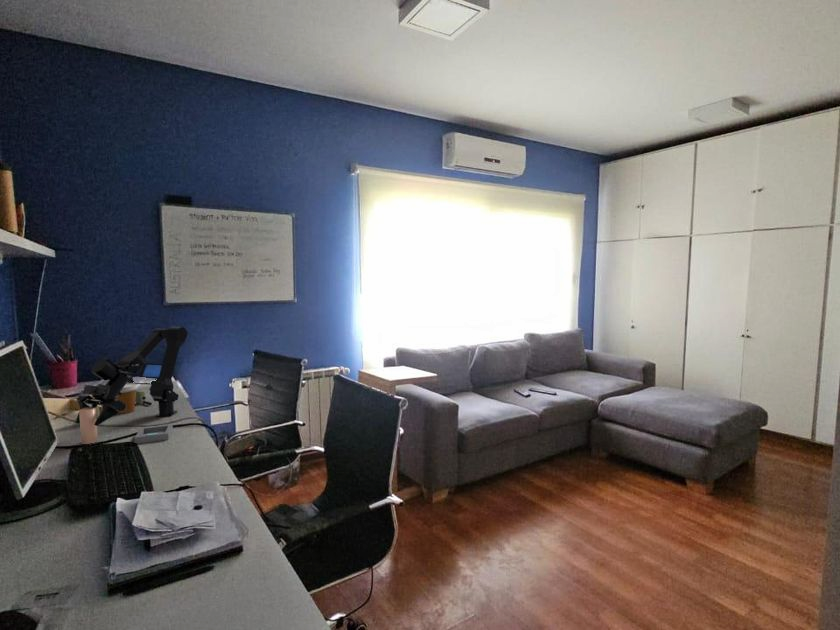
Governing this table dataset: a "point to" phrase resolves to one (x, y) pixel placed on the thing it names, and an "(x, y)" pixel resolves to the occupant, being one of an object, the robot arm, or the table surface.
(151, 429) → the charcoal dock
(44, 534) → the table surface
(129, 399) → the disposable coffee cup
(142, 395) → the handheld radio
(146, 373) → the handheld game console
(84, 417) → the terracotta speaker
